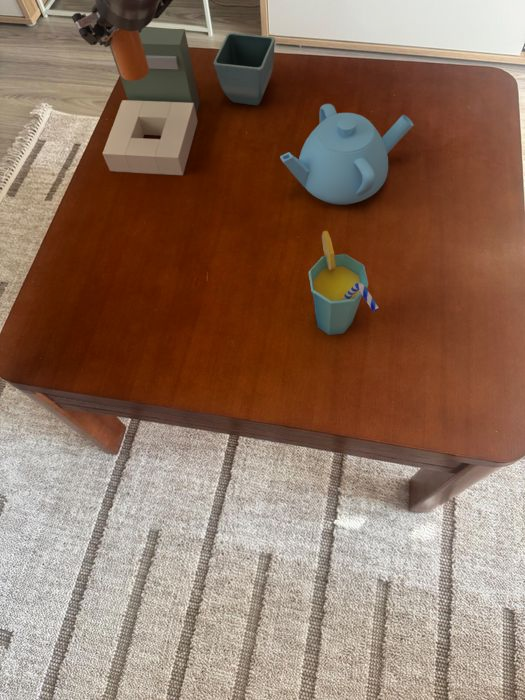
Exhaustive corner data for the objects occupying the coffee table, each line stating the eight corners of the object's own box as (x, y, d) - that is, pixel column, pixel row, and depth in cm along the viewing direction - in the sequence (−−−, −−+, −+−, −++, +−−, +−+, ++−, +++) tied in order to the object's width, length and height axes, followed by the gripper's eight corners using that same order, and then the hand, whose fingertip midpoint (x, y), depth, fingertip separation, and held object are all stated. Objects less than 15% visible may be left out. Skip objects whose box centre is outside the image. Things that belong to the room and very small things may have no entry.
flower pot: (233, 77, 101) (227, 31, 93) (278, 82, 99) (275, 36, 91) (219, 108, 97) (212, 63, 89) (265, 114, 96) (262, 69, 88)
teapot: (383, 224, 83) (394, 171, 73) (280, 200, 86) (277, 146, 76) (407, 156, 89) (420, 98, 79) (309, 136, 93) (310, 78, 82)
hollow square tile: (109, 171, 92) (102, 153, 88) (128, 118, 98) (122, 99, 94) (183, 175, 90) (178, 157, 87) (197, 121, 96) (193, 102, 92)
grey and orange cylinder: (123, 85, 79) (103, 26, 71) (116, 67, 81) (95, 7, 73) (154, 76, 80) (137, 15, 71) (145, 57, 82) (128, -3, 74)
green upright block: (132, 117, 98) (107, 44, 85) (138, 100, 100) (114, 27, 87) (195, 119, 96) (179, 46, 84) (199, 103, 98) (184, 28, 86)
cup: (387, 349, 73) (406, 291, 60) (339, 374, 72) (348, 321, 59) (334, 277, 79) (341, 209, 66) (289, 299, 78) (287, 235, 64)
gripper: (168, -75, 61) (150, -13, 77) (54, -31, 58) (60, 24, 74) (197, -6, 63) (174, 40, 79) (90, 40, 61) (88, 78, 77)
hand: (119, 32), depth 77 cm, fingers closed on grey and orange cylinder, 4 cm apart
